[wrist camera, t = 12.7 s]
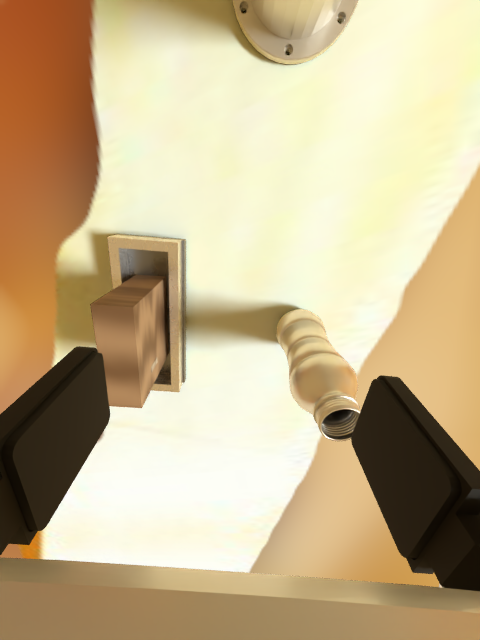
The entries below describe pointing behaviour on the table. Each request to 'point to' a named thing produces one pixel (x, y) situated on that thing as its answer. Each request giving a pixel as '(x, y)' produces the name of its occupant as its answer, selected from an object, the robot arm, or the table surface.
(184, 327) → the tan rectangular tray
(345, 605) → the robot arm
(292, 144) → the table surface
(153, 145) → the table surface
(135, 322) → the door panel
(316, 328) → the plastic bottle
